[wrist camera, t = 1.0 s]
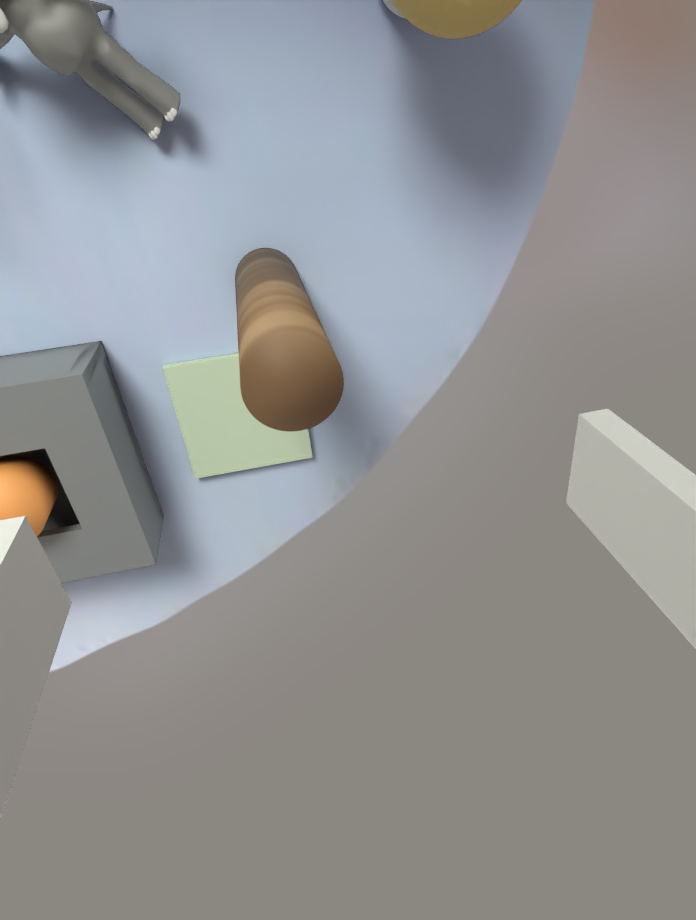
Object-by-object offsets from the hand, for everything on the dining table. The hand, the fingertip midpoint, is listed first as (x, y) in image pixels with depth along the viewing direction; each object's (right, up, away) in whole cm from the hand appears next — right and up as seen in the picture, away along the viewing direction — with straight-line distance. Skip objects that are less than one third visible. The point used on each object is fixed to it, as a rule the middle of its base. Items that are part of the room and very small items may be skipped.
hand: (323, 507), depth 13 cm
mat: (-6, +4, +22) cm, 24 cm away
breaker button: (-18, 0, +18) cm, 26 cm away
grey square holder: (-19, +1, +21) cm, 28 cm away
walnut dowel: (-4, +11, +18) cm, 22 cm away
